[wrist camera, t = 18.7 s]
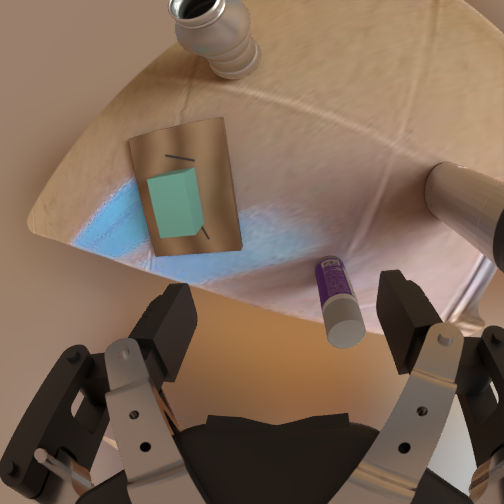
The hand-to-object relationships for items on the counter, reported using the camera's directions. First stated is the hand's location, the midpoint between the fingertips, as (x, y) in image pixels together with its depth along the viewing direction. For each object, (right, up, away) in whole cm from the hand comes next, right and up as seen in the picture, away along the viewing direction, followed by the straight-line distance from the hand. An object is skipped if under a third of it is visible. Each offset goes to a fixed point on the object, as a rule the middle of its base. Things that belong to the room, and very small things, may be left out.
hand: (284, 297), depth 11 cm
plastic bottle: (-3, +27, +19) cm, 33 cm away
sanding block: (-11, +10, +26) cm, 30 cm away
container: (+11, -1, +31) cm, 33 cm away
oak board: (-11, +11, +27) cm, 31 cm away
